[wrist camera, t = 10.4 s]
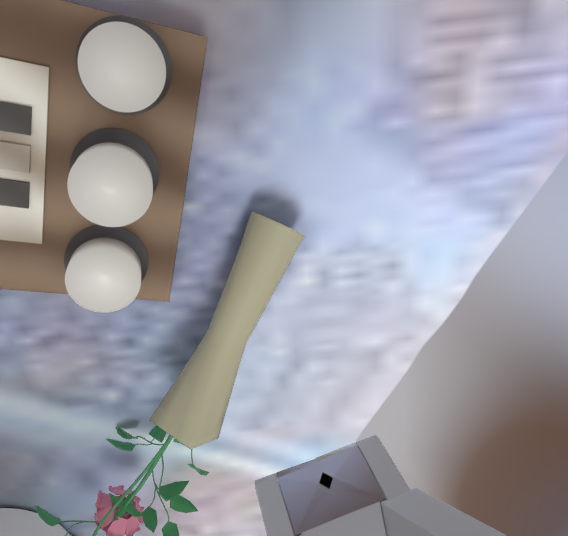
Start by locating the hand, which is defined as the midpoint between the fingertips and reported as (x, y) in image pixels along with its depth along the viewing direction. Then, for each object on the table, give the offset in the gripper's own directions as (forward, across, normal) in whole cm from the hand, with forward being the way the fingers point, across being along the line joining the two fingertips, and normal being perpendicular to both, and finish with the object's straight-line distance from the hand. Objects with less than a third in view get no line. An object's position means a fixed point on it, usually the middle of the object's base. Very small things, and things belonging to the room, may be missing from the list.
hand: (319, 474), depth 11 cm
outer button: (+27, +2, -9) cm, 28 cm away
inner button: (+27, +8, +4) cm, 28 cm away
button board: (+31, +7, -3) cm, 32 cm away
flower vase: (+31, +7, +17) cm, 37 cm away
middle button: (+25, +5, -3) cm, 26 cm away
